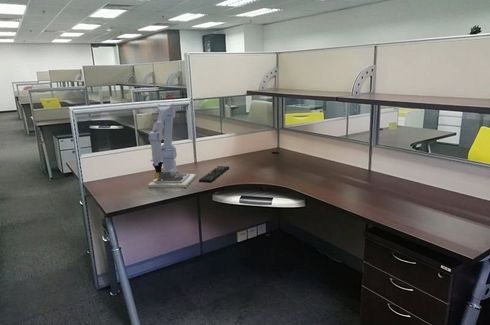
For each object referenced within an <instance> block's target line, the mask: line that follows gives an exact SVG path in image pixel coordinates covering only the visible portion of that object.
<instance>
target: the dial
mask: <svg viewBox="0 0 490 325" xmlns="http://www.w3.org/2000/svg"><path fill="white" fill-rule="evenodd" d="M182 174H183V173H178V172H175V170H169V171H166V172H163V171H161V172H158V173H156V172H154V173H153V180H154V179H160V178H162V180H163V181H179V180H182V179H183V175H182Z"/></svg>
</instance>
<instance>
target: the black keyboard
mask: <svg viewBox="0 0 490 325" xmlns="http://www.w3.org/2000/svg"><path fill="white" fill-rule="evenodd" d="M229 169H230V166H224V165H223V166H221V165H219V166H218V165H217V167H215V168H213V169H212V170H211V171H209V172H208V173H206V175H204V176H202V177H201V178H199V179H198V183H199V182H200V183H212V182H214V181H215V180H216V179H217V178H219V177H221V175H223V174H224V173H225V172H227V171H228V170H229Z"/></svg>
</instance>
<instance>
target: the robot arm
mask: <svg viewBox="0 0 490 325" xmlns="http://www.w3.org/2000/svg"><path fill="white" fill-rule="evenodd" d="M176 110H177V109H176V105H175V104H174V102H172V103H159V104H158V105H157V112H158V116H157V119H156V121H155V122H154V123H153V127H152V130H151V131H150V132H149V133H148V141H149V144H150V146H151V147H150V148H151V158H152V159H150V162H153V163H152V166H153V168H154V170H155V173H158V172H166V171H169V170H175V172H176V173H178V172H179V170H178V169H177V162H176V158H177V156H178V155H177V148H176V147H175V146H174V145H173V144H172V143H173V129H174V128H173V126H174V124H173V122H174V118H176ZM163 132H164V134H163ZM163 135H164V136H163ZM162 140H163V145H162Z"/></svg>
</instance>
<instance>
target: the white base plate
mask: <svg viewBox="0 0 490 325" xmlns="http://www.w3.org/2000/svg"><path fill="white" fill-rule="evenodd" d="M181 174H182V175H183V179H182V180H179V181H163V180H162V178H160V179H154V178H153V180H152V181H150V182H149V183H148V184H147V187H148V188H187V187H188V186H189V185H190V184H191V182H192V181H193V180H194V179H195V178H196V177H197V174H196V173H181Z"/></svg>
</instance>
